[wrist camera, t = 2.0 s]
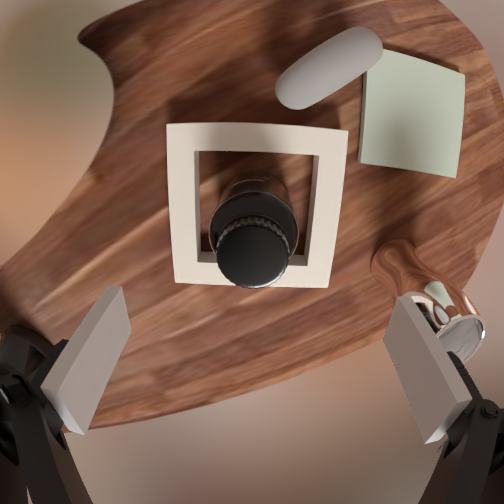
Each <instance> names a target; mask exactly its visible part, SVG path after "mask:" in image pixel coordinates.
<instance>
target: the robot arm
mask: <svg viewBox="0 0 504 504" xmlns="http://www.w3.org/2000/svg"><path fill="white" fill-rule="evenodd" d="M131 332H132V330H131V326H130V321H129V317H128V313H127V309H126V304H125V300H124V295H123V290H122V286H111V285H108V286H107V287H106V288H105V290H104V291H103V292H102V294H101V295H100V297H99V298H98V299H97V301H96V302H95V304H94V305H93V306H92V308H91V309H90V311H89V312H88V314H87V315H86V316H85V318H84V319H83V321H82V322H81V324H80V325H79V327H78V328H77V330H76V331H75V333H74V334H73V336H72V337H71V339H70V340H65V339H62V340H61V341H60V342H59V343H57V344H56V345H55V346H54V347H52V346H51V345H50V344H49V343H48V342H47V341H46V340H45V339H43V338H42V337H41V336H39V335H38V334H36V333H35V332H33V331H31V330H29V329H27V328H25V327H22V326H11V327H10V328H8V330H7V331H6V332H5V333H4V334H3V336H2V338H1V341H0V504H28V497H27V488H28V491H29V494H30V497H31V500H32V503H33V504H93V503H92V501H91V498H90V497H89V495H88V492H87V490H86V488H85V486H84V484H83V481H82V480H81V477H80V475H79V472H78V470H77V468H76V465H75V463H74V460H73V458H72V455H71V453H70V451H69V448H68V445H67V442H66V439H65V436H64V433H63V432H62V430H61V428H62V425H63V423H64V424H65V425H66V427H67V428H68V429H69V431H72V432H75V433H79V434H82V435H86V432H87V430H88V427H89V425H90V422H91V420H92V418H93V415H94V413H95V410H96V408H97V406H98V403H99V401H100V399H101V396H102V394H103V392H104V390H105V387H106V385H107V383H108V381H109V378H110V376H111V374H112V372H113V370H114V367H115V365H116V363H117V361H118V359H119V357H120V355H121V353H122V350H123V348H124V346H125V344H126V342H127V340H128V338H129V336H130V334H131ZM383 341H384V343H385V346H386V348H387V350H388V352H389V355H390V357H391V359H392V362H393V364H394V366H395V369H396V371H397V373H398V376H399V378H400V380H401V383H402V385H403V388H404V390H405V393H406V395H407V398H408V400H409V403H410V406H411V408H412V411H413V414H414V416H415V419H416V421H417V424H418V427H419V430H420V432H421V435H422V438H423V441H424V443H425V444H426V443H429V442H433V441H437V440H440V439H441V437H442V436H443V435H444V434H445V433H446V432H447V434H448V437H449V438H448V439H447V440H446V441H445V442H444V443H443V444H442V446H441V447H440V448H439V449H438V451H437V452H440V451H441V450H442V449H443V450H442V453H441V455H440V457H439V460H438V462H437V465H436V467H435V470H434V472H433V474H432V476H431V479H430V481H429V483H428V485H427V487H426V489H425V491H424V493H423V495H422V498H421V499H420V501H419V503H418V504H504V409H499V408H498V406H497V405H496V404H495V403H494V402H492V401H491V400H487V399H483V398H482V397H481V394H480V393H479V391H478V389H477V387H476V386H475V384H474V382H473V380H472V378H471V377H470V375H468V372H467V370H466V369H465V368H464V365H463V363H462V361H461V360H460V358H459V357H458V356H456V355H455V354H454V353H453V352H452V351H448V352H446V351H445V349H444V347H443V346H442V344H441V342H440V341H439V339H438V338H437V336H436V334H435V333H434V331H433V330H432V328H431V326H430V325H429V323H428V322H427V320H426V319H425V317H424V316H423V314H422V313H421V311H420V310H419V308H418V307H417V305H416V304H415V302H414V301H413V299H412V298H411V296H400V297H397V300H396V303H395V306H394V309H393V312H392V315H391V318H390V321H389V324H388V327H387V330H386V332H385V335H384V338H383ZM26 485H27V486H26Z"/></svg>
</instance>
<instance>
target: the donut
mask: <svg viewBox="0 0 504 504" xmlns="http://www.w3.org/2000/svg"><path fill="white" fill-rule="evenodd" d="M382 54H383V46H382V42H381V40H380V38H379V37H378V36H377V35H376V34H375V33H374V32H373V31H371V30H369V29H367V28H364V27H353V28H350V29H348V30H345V31H343V32H341V33H339V34H337V35H335V36H334V37H332V38H330V39H328V40H327V41H325V42H323V43H322V44H320V45H319V46H317V47H316V48H314V49H313V50H311V51H310V52H308V53H307V54H306V55H304V56H303V57H301V58H300V59H299V60H298V61H296V62H295V63H294V64H292V65H291V66H290V67H289V68H288V69H287V70H285V71H284V72H283V73H282V74H281V75H280V77H279V78H278V80H277V82H276V84H275V93H276V96H277V98H278V100H279V101H280V102H281V103H282V104H283V105H284V106H286V107H288V108H290V109H296V110H299V109H304V108H307V107H309V106H311V105H313V104H315V103H317V102H318V101H320V100H322V99H323V98H325V97H327V96H328V95H330V94H332V93H333V92H335V91H336V90H338V89H340V88H341V87H343V86H344V85H346V84H347V83H349V82H351V81H352V80H354V79H355V78H357V77H358V76H360V75H361V74H363V73H364V72H365V71H367V70H368V69H370V68H371V67H372V66H373V65H375V64H376V63H377V62H378V61H379V60H380V58H381V57H382Z"/></svg>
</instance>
